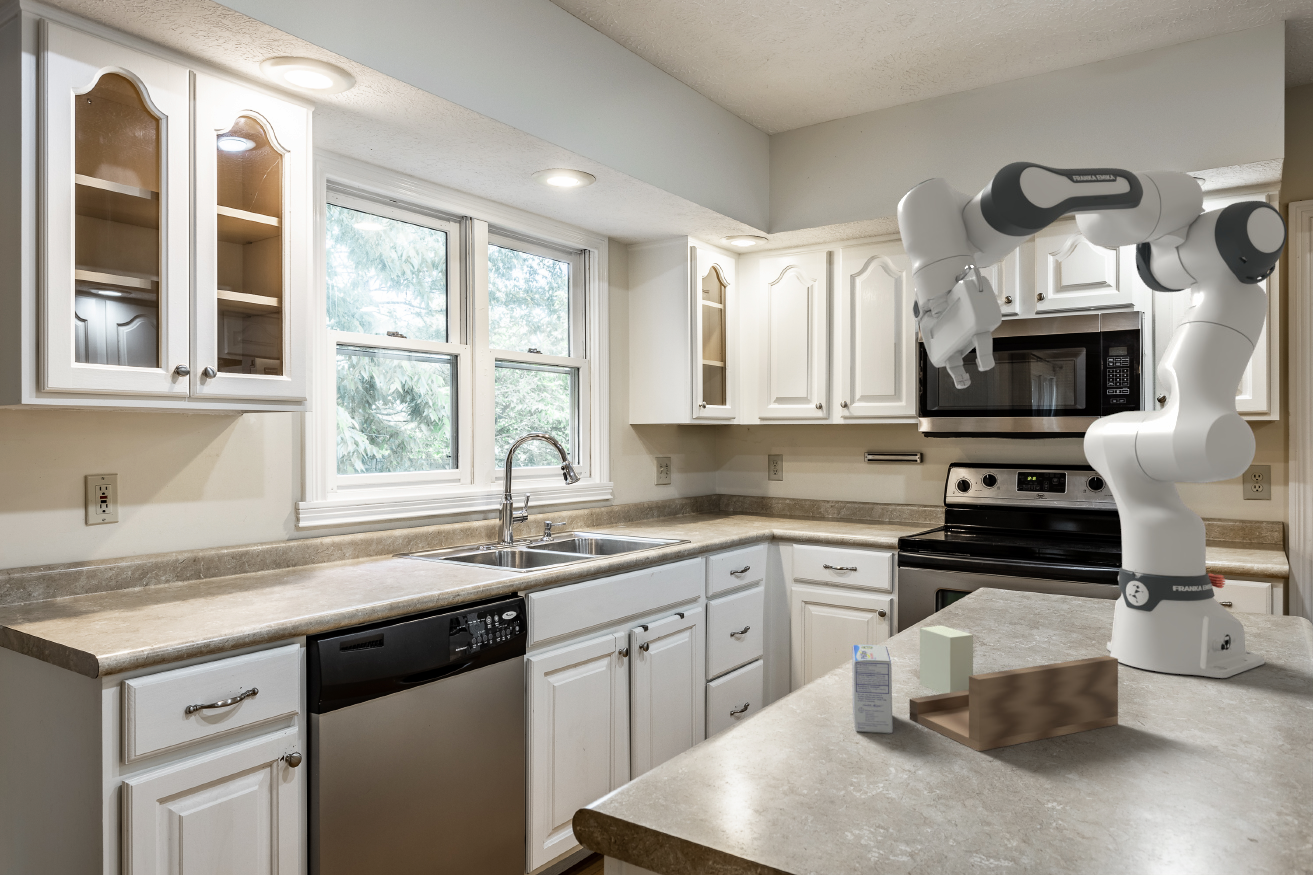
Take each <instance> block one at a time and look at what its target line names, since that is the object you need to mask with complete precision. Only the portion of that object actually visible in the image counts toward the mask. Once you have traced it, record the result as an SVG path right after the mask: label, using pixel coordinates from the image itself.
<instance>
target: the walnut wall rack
mask: <svg viewBox="0 0 1313 875" xmlns="http://www.w3.org/2000/svg"><path fill="white" fill-rule="evenodd" d="M909 720H911V721H913V722H915V723H917V724H920V725H922V726H924V727H925V728H928V729H931V730H932V731H935V732H936V733H939V734H941V735H943V736H945V737H947V738H949V739H951V740H954V741H956V742H958V743H961V744H962V745H964V746H966V747H968V748H971V749H973V750H975V751H977V752H982V751H983V752H984V751H988V750H993V749H998V748H1003V747H1009V746H1013V745H1018V744H1020V745H1021V744H1024V743H1029V742H1033V741H1034V742H1035V741H1040V740H1044V739H1050V738H1056V737H1061V736H1064V735H1071V734H1075V733H1080V732H1086V731H1092V730H1096V729H1101V728H1106V727H1111V726H1117V725H1119V662H1118V658H1114V657H1111V656H1110V655H1102V656H1096V657H1089V658H1083V659H1076V660H1075V659H1074V660H1068V661H1061V662H1056V663H1048V664H1042V665H1034V666H1028V667H1021V668H1014V669H1008V670H1001V671H995V672H986V673H979V674H973V676H969V690H963V691H957V692H951V693H944V694H942V693H939V694H932V695H925V696H920V697H913V698H912V697H911V698H909Z"/></svg>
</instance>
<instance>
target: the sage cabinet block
mask: <svg viewBox="0 0 1313 875" xmlns="http://www.w3.org/2000/svg"><path fill="white" fill-rule="evenodd" d="M973 675H974V634H972V633H970V632H969V633H968V632H965V631H962V630H958V629H955V628H953V627H949V626H945V625H936V626H934V625H933V626H926V627H920V628H919V685H920V686H923V687H925V688H928V689H930V690H932V691H935V692H937V693H939V694H944V693H951V692H957V691H963V690H969V676H973Z"/></svg>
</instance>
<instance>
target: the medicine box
mask: <svg viewBox="0 0 1313 875" xmlns="http://www.w3.org/2000/svg"><path fill="white" fill-rule="evenodd" d="M851 648H852V650H851V660H852V661H851V665H852V667H851V668H852V669H851V670H852V677H851V678H852V693H851V694H852V695H851V696H852V711H853V720H854V731H855V732H860V733H862V732H863V733H870V734H873V733H874V734H888V735H891V734H892V733H893V729H894V728H893V727H894V726H893V685H892V684H893V678H892V677H893V676H892V674H893V672H892V671H893V670H892V661H891V657H890V653H889V650H888V647H887V645H881V644H879V645H878V644H853V645H852V647H851Z"/></svg>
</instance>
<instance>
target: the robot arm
mask: <svg viewBox="0 0 1313 875" xmlns="http://www.w3.org/2000/svg"><path fill="white" fill-rule="evenodd" d="M1203 205H1204V192H1203V189H1202V187H1201V185H1200V182H1198V180H1197V179H1196V178H1195V177H1193V175H1190V174H1188V173H1186V172H1182V171H1176V170H1175V171H1174V170H1164V169H1163V170H1161V169H1160V170H1159V169H1158V170H1157V169H1152V170H1151V169H1150V170H1149V169H1148V170H1139V171H1138V170H1136V171H1129V170H1127V169H1125V168H1124V169H1123V168H1115V167H1097V168H1096V167H1095V168H1093V167H1092V168H1091V167H1090V168H1089V167H1088V168H1087V167H1086V168H1057V167H1051V166H1047V165H1042V164H1040V163H1035V162H1029V161H1016V162H1012V163H1009V164H1007V165H1005V166H1003V167H1002V168H1000V169H999V170H998V171H997V173H996V174H995V175H994V176H993V178H992V179H991V180H990V181H989V182H988V183H987V184H986V185H985V187H984V188H983V189H982V190H981V191H980V192H978V193H977V195H975V196H973V195H970V194H966V193H963V192H961V191H959V190H958V189H956V188H953V187H952V186H951V185H950V184H949V183H948V182H947V180H946V179H945V178H943V177H933V178H930V179H927V180H925V181H922V182H920V183H918V184H916V185H914V187H911V188H910V189H909V190H908V191H907V192H906V193H905V194H904V195H903V197H902V198H901V199H900V200H899V202H898V204H897V208H896V211H897V212H896V215H897V216H896V217H897V223H898V230H899V233H900V238H901V242H902V246H903V250H904V252H905V255H906V256H907V257H908V260H909V261H910V263H911V277H912V281H913V282H912V283H913V285H914V303H913V305H912V309H911V310H912V311H911V312H912V316H913V319H914V320H913V321H914V322H919V329H920V334H921V338H922V340H923V344H924V348H925V349H926V352H927V356H928V358H929V360H930V362H931V364H932V365H933V367H935V368H942V367H946V370H947V373H949V375H950V376H951V377H952V379H953V382H954V386H955V387H956V389H959V390H960V389H961V390H962V389H966V388H967V387H969V386H970V385H971V379H970V375H969V372H967V373H966V371H965V368H964V366H963V365H964V361H963V358H964V357H965V356H966V355H967V354H969V352H971V351H972V349H974V348H975V349H976V350H975V351H976V357H977V358H976V359H975V362H976V365H977V370H978V371H980V372H984V371H989V370H990V369H992V368H994V367H995V365H996V363H995V360H994V356H993V336H992V332H994V330H995V329H997V328H998V327H999V326H1000V325H1001V324H1002V322H1003V321H1002V320H1003V319H1002V318H1003V317H1002V316H1003V314H1002V310H1001V307H1000V304H999V302H998V299H997V297H996V296H997V295H996V294H995V291H994V288H993V286H992V284H991V282H990V280H989V279H988V278H987V276H985V275H982V274H981V270H980V269H986V268H989V267H991V266H993V265H995V264H997V263H999V262H1000V261H1002V260H1003V259H1005V258H1006V257H1007V256H1008V255H1010V254H1011V253H1013V252H1014V251H1015V250H1016V249H1017V248H1019V247H1020V246H1021V245H1022V244H1024V243H1026V241H1028V240H1030V239H1031V238H1032V237H1033V236H1034V235H1036V234H1037V233H1039V232H1042V231H1043V230H1044V229H1045V228H1047V227H1049V226H1050V225H1052V224H1053V223H1054V222H1055V221H1057V220H1058V219H1059V218H1061V217H1064V216H1075V222H1076V225H1077V228H1078V230H1079V232H1080V233H1081V235H1082V236H1083V237H1084V238H1085V239H1086V241H1088V242H1089V243H1091V244H1092V245H1094V246H1097V247H1105V248H1116V247H1117V248H1118V247H1127V246H1132V245H1135V266H1136V271H1137V273H1138V275H1139V278H1140V280H1142V282H1143V284H1145V286H1146V287H1147V288H1148V289H1150V290H1152V291H1155V292H1159V293H1177V292H1182V291H1185V290H1186V289H1190V298H1189V299H1190V301H1189V304H1188V308H1187V310H1185V312H1184V314H1183V316H1182V318H1181V319H1180V320H1179V323H1178V324H1177V326H1176V328H1175V331H1174V332H1173V334H1172V337H1171V338H1170V340H1169V343H1168V345H1167V347H1166V349H1165V351H1164V353H1163V354H1162V357H1161V359H1160V361H1159V363H1158V365H1157V369H1156V373H1157V377H1158V378H1157V379H1158V380H1159V382H1160V385H1161V386H1162V388H1163V389H1164V390H1165V391H1166V392H1167V393H1168V394H1170V396H1169V400H1168V403H1167V404H1166V405H1165V406H1164V407H1163V408H1162V409H1158V410H1134V411H1129V410H1128V411H1122V412H1118V413H1114V414H1110V415H1106V416H1103V417H1101V418H1097V419H1096V420H1094V421H1093V422H1092V423H1091V425H1089V427H1088V428H1087V431H1086V432H1085V435H1084V439H1083V451H1084V456H1085V458H1086V460H1087V463H1088V464H1089V465H1090V466H1091V467H1092V469H1093V470H1095V471H1096V472H1097V473H1098V474H1099V475H1100V476H1101V477H1102V479H1103V480H1104V482H1105V483H1106V484H1107V486H1108V488H1109V490H1110V492H1111V494H1112V496H1113V499H1114V501H1115V504H1116V507H1117V512H1118V515H1119V520H1120V529H1121V530H1120V531H1121V563H1122V564H1121V567H1119V569H1118V576H1117V581H1118V590H1119V591H1120V592H1121V595H1120V597H1119V598H1118V599H1117V600H1116V602H1115V605H1114V606H1115V607H1114V614H1113V615H1114V616H1113V624H1112V631H1111V632H1112V633H1111V634H1112V635H1111V640H1110V641H1107V642H1106V649H1107V650H1108V651H1109V652H1110V654H1109V656H1110V657H1114V658H1118V663H1122V664H1123V665H1128V666H1131V667H1135V668H1139V669H1143V670H1147V671H1155V672H1159V673H1167V674H1177V675H1179V674H1180V675H1193V676H1202V677H1203V676H1204V677H1208V678H1209V677H1210V678H1217V679H1219V678H1220V679H1226V678H1229V677H1232V676H1234V675H1237V674H1240V673H1243V672H1246V671H1249V670H1251V669H1254V668H1256V667H1258V666H1263V665H1264V664H1265V662H1266V661H1265V657H1264V656H1262V655H1260V654H1258V653H1255V652H1252V651H1249V650H1246V636H1245V635H1246V634H1245V629H1244V628H1245V627H1244V625H1243V623H1242V622H1241V621H1240V620H1239V619H1238V618H1236V617H1235V616H1234V615H1233V614H1232V613H1231V612H1229V611H1228V610H1227V609H1226V608H1225V607H1224V606H1223V605H1222V604H1221V603H1220V602H1219V601H1218V600H1216V599H1215V598H1214V597H1215V596H1216V595H1215V592H1214V589H1213V587H1215V588H1217V589H1222V588H1224V585H1226V578H1225V576H1224V575H1223V574H1213V573H1207V571H1206V570H1207V569H1206V568H1207V562H1206V560H1207V558H1206V555H1207V554H1206V552H1207V551H1206V550H1207V549H1206V548H1207V547H1206V546H1207V544H1206V542H1207V540H1206V539H1207V538H1206V530H1207V529H1206V525H1205V523H1204V521H1203V519H1202V517H1201V516H1200V515H1198V513H1197V512H1195V511H1194V510H1192V509H1191V508H1189V507H1188V505H1186V504H1185V503H1184V501H1183V500H1182V498H1181V496H1180V495H1179V492H1178V490H1177V486H1176V483H1177V482H1178V483H1190V484H1191V483H1192V484H1207V483H1214V482H1220V481H1227V480H1232V479H1236V478H1238V477H1240V476H1242V475H1243V474H1244V473H1245V472H1246V471H1247V470H1248V469H1249V467H1250V466H1251V464H1252V463H1253V459H1254V457H1255V455H1256V445H1257V444H1256V443H1257V442H1256V439H1255V438H1256V437H1255V434H1254V432H1253V430H1252V428H1251V426H1250V424H1249V423H1248V422H1247V421H1246V420H1245V419H1244V418H1243V417H1242V416H1240V414H1239V413H1238V411H1237V406H1236V398H1237V393H1238V389H1239V386H1240V383H1241V381H1242V379H1243V376H1244V374H1245V372H1246V369H1247V367H1248V364H1249V362H1250V360H1251V358H1252V355H1253V354H1254V351H1255V349H1256V347H1257V345H1258V342H1259V339H1260V337H1261V333H1262V331H1263V328H1264V324H1265V320H1266V317H1267V316H1266V315H1267V312H1268V305H1269V300H1268V296H1267V293H1266V292H1265V290H1264V289H1263V287H1261V286H1260V284H1259V283H1261V282H1264V281H1265V280H1266V279H1267V278H1269V277H1270V276H1271V275H1272V274H1273V273H1274V271H1275V270H1276V263H1277V262H1278V261H1279V259H1280V258H1281V256H1282V253H1283V250H1284V248H1285V244H1286V242H1287V235H1288V234H1287V232H1288V231H1287V225H1286V222H1285V220H1284V218H1283V216H1282V214H1281V213H1280V212H1279V211H1278V209H1277V208H1276V207H1275V206H1274V205H1272V204H1271V203H1269V202H1267V201H1263V200H1248V201H1247V200H1246V201H1239V202H1238V201H1237V202H1235V203H1231V204H1229V205H1228V206H1225V207H1222V208H1217V209H1213V210H1210V211H1206V209H1205V208H1204V207H1203Z"/></svg>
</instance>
